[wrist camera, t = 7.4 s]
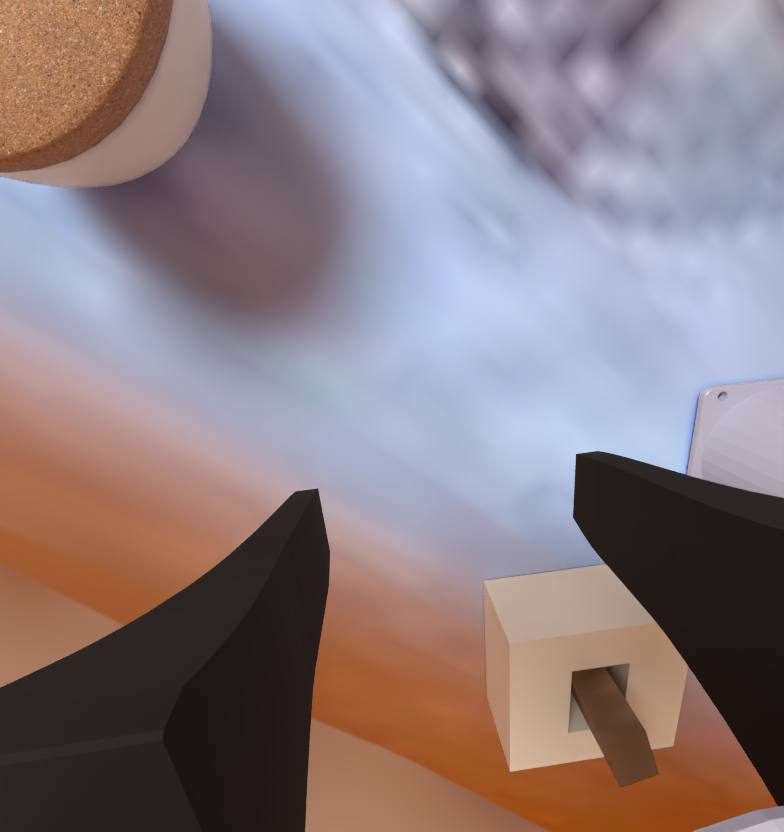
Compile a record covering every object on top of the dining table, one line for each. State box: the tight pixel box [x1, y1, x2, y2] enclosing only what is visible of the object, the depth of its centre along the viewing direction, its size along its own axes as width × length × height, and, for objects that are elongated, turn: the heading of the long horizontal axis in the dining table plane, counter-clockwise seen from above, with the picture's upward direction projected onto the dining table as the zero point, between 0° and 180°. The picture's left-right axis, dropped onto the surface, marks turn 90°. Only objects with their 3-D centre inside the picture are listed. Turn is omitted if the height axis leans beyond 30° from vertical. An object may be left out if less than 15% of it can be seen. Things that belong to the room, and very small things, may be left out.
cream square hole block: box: [484, 564, 689, 772], centre depth 24 cm, size 10×10×4 cm
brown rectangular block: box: [571, 667, 659, 788], centre depth 22 cm, size 2×4×7 cm, turn 23°
